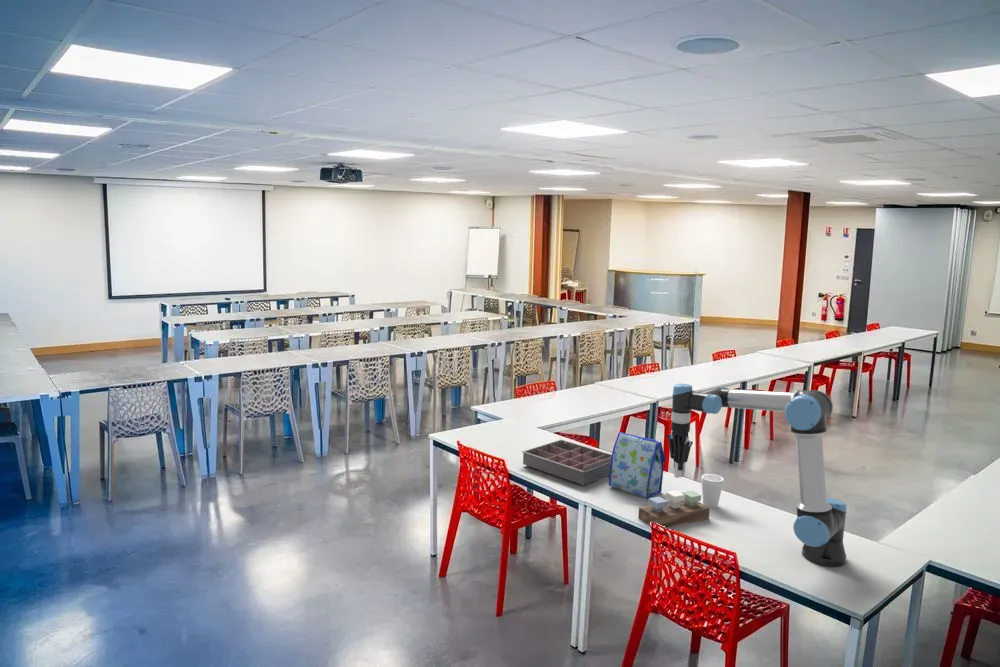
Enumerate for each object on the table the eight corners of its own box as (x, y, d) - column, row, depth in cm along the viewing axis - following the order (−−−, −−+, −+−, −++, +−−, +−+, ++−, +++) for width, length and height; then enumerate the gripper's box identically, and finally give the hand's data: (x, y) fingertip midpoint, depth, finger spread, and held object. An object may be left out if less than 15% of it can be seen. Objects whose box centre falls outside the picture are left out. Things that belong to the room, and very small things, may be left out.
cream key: (684, 508, 287) (685, 494, 286) (673, 510, 285) (674, 496, 284) (675, 503, 292) (676, 490, 291) (665, 505, 290) (666, 492, 289)
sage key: (700, 508, 291) (701, 495, 290) (690, 510, 289) (691, 497, 288) (691, 503, 296) (692, 490, 295) (681, 505, 294) (682, 492, 293)
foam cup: (706, 510, 299) (708, 482, 297) (695, 502, 307) (697, 474, 306) (725, 508, 301) (728, 480, 299) (713, 500, 310) (716, 473, 308)
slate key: (666, 515, 283) (667, 501, 282) (656, 517, 281) (657, 503, 280) (658, 510, 288) (659, 496, 287) (647, 512, 286) (648, 498, 285)
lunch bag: (665, 491, 320) (669, 437, 316) (648, 501, 307) (652, 445, 303) (623, 479, 334) (626, 427, 330) (606, 488, 321) (609, 435, 317)
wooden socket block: (708, 518, 290) (709, 507, 289) (656, 529, 278) (657, 518, 277) (689, 508, 300) (690, 497, 300) (638, 518, 288) (639, 507, 288)
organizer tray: (560, 453, 371) (561, 435, 369) (622, 472, 343) (623, 453, 342) (520, 466, 348) (521, 447, 346) (583, 488, 320) (584, 468, 319)
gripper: (699, 424, 275) (695, 480, 278) (677, 416, 286) (674, 470, 289) (684, 426, 271) (681, 483, 274) (663, 418, 283) (660, 473, 286)
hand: (677, 476), depth 282 cm, fingers closed
